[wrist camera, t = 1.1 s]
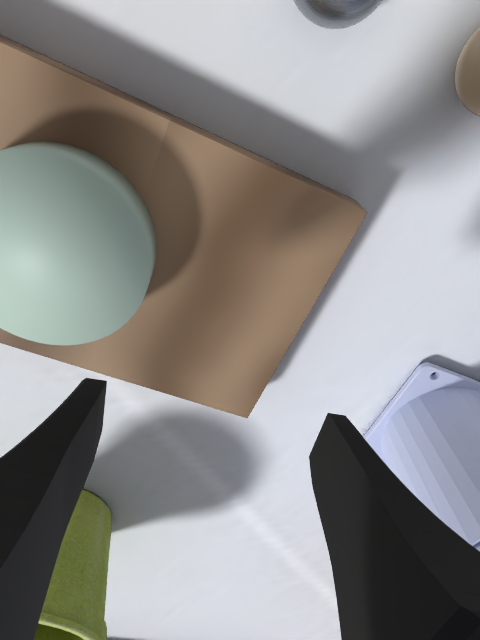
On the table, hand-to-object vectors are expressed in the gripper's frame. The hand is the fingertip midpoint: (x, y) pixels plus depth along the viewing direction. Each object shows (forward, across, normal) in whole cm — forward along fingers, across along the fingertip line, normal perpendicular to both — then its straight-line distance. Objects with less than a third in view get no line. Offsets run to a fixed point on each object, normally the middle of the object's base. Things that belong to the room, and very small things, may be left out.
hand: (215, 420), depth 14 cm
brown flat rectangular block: (+9, +7, -2) cm, 11 cm away
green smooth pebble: (+7, +7, -2) cm, 10 cm away
